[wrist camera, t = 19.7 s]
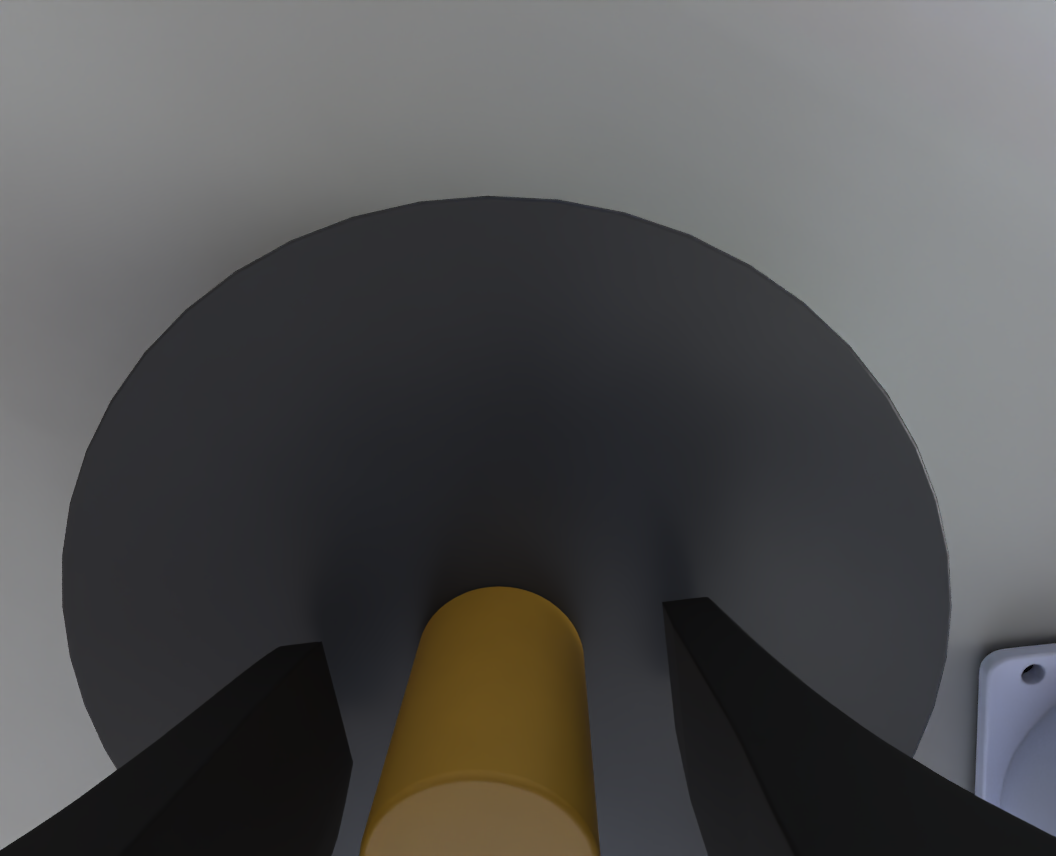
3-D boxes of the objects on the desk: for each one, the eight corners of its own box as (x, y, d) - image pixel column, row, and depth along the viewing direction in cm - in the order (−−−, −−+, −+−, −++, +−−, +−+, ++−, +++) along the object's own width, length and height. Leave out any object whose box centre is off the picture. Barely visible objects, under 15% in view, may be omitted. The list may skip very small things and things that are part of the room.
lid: (918, 126, 9) (1257, 53, 5) (913, 889, 13) (1106, 1247, 9) (-15, 271, 10) (-453, 320, 6) (224, 950, 14) (69, 1307, 9)
